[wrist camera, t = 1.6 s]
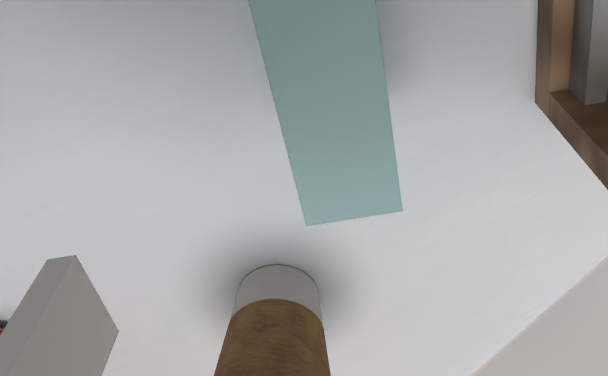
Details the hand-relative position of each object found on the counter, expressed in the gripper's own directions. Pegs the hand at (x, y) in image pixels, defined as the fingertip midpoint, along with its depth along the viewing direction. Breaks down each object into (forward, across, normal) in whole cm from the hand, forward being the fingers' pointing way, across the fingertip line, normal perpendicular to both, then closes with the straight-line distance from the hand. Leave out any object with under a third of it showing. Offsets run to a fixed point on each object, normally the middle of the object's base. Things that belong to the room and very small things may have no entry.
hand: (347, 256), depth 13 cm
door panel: (+19, 0, 0) cm, 19 cm away
